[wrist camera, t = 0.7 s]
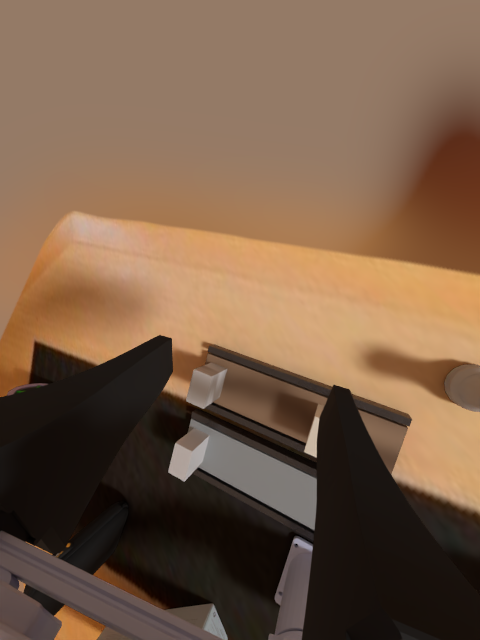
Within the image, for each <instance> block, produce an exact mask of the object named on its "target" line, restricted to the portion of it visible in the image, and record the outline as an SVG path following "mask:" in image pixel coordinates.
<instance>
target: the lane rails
mask: <svg viewBox="0 0 480 640" xmlns="http://www.w3.org/2000/svg"><path fill="white" fill-rule="evenodd" d="M208 352H210V353H213V354H216V355H218V356H221V357H224V358H227V359H229V360H232V361H235V362H237V363H240V364H243V365H245V366H248V367H251V368H253V369H256V370H259V371H262V372H264V373H267V374H270V375H272V376H275V377H278V378H280V379H283V380H286V381H288V382H291V383H294V384H296V385H299V386H302V387H305V388H307V389H310V390H313V391H315V392H318V393H321V394H323V395H326V396H329V394H330V392H331V390H332V387H331V386H328V385H325V384H322V383H320V382H317V381H314V380H311V379H308V378H306V377H303V376H300V375H297V374H295V373H292V372H289V371H286V370H283V369H281V368H278V367H275V366H272V365H269V364H267V363H264V362H261V361H258V360H256V359H253V358H250V357H247V356H244V355H242V354H239V353H236V352H233V351H230V350H228V349H225V348H222V347H219V346H216V345H210V346H209V348H208ZM352 396H353V399H354V401H355V404H356V406H357V407H358V408H361V409H364V410H366V411H369V412H372V413H374V414H377V415H380V416H383V417H385V418H388V419H391V420H393V421H396V422H399V423H401V424H404V425H407V426H410V423H411V421H412V419H411V417H410V416H409V414H406V413H403V412H400V411H398V410H395V409H392V408H389V407H386V406H384V405H381V404H378V403H375V402H373V401H370V400H367V399H364V398H361V397H359V396H356V395H353V394H352ZM205 408H206V409H209V410H211V411H213V412H215V413H217V414H220V415H222V416H224V417H226V418H228V419H231V420H233V421H235V422H237V423H239V424H242V425H244V426H246V427H248V428H250V429H253V430H255V431H257V432H259V433H261V434H264V435H266V436H268V437H270V438H273V439H275V440H277V441H279V442H281V443H284V444H286V445H288V446H290V447H292V448H295V449H297V450H299V451H301V452H303V453H305V452H304V450H305V446H306V443H305V442H302V441H300V440H298V439H296V438H293V437H291V436H289V435H286V434H284V433H282V432H280V431H277V430H275V429H273V428H271V427H268V426H266V425H264V424H261V423H259V422H257V421H255V420H252V419H250V418H248V417H246V416H243V415H241V414H239V413H237V412H234V411H232V410H230V409H227V408H225V407H223V406H221V405H218V404H216V403H214V402H212V403H211V404H209V405H208V406H207V407H205ZM191 418H193V419H196V420H198V421H200V422H202V423H204V424H206V425H208V426H210V427H212V428H214V429H217V430H219V431H221V432H223V433H225V434H227V435H229V436H231V437H233V438H235V439H237V440H240V441H242V442H244V443H246V444H248V445H250V446H252V447H254V448H256V449H258V450H261V451H263V452H265V453H267V454H269V455H271V456H273V457H275V458H277V459H279V460H282V461H284V462H286V463H288V464H290V465H292V466H294V467H296V468H298V469H300V470H302V471H305V472H307V473H309V474H311V475H313V476H315V477H317V463H315V462H313V461H311V460H308V459H306V458H304V457H302V456H300V455H298V454H295V453H293V452H291V451H289V450H287V449H285V448H282V447H280V446H278V445H276V444H274V443H271V442H269V441H267V440H265V439H263V438H261V437H258V436H256V435H254V434H252V433H250V432H248V431H245V430H243V429H241V428H239V427H237V426H234V425H232V424H230V423H228V422H226V421H224V420H221V419H219V418H217V417H215V416H213V415H211V414H208V413H206V412H204V411H202V410H200V409H198V408H197V409H196V410H195V411H193V412H192V415H191ZM306 454H307V453H306ZM308 455H309V454H308ZM310 456H312V455H310ZM312 457H314V456H312ZM314 458H316V457H314ZM193 474H194V475H196V476H198V477H200V478H202V479H203V480H205V481H207V482H209V483H210V484H212V485H214V486H216V487H218V488H219V489H221V490H223V491H225V492H227V493H228V494H230V495H232V496H234V497H236V498H237V499H239V500H241V501H243V502H245V503H246V504H248V505H250V506H252V507H253V508H255V509H257V510H259V511H261V512H262V513H264V514H266V515H268V516H270V517H271V518H273V519H275V520H277V521H279V522H280V523H282V524H284V525H286V526H288V527H289V528H291V529H293V530H295V531H297V532H298V533H300V534H302V535H304V536H305V537H307V538H309V539H311V540H314V530H313V529H311V528H309V527H307V526H305V525H303V524H302V523H300V522H298V521H296V520H294V519H292V518H291V517H289V516H287V515H285V514H283V513H281V512H280V511H278V510H276V509H274V508H272V507H270V506H269V505H267V504H265V503H263V502H261V501H259V500H258V499H256V498H254V497H252V496H250V495H248V494H247V493H245V492H243V491H241V490H239V489H237V488H236V487H234V486H232V485H230V484H228V483H226V482H224V481H223V480H221V479H219V478H217V477H215V476H213V475H212V474H210V473H208V472H206V471H204V470H202V469H201V468H199V467H197V469H196V470H195V471H194V472H193Z"/></svg>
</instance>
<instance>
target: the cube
mask: <svg viewBox="0 0 480 640" xmlns="http://www.w3.org/2000/svg"><path fill="white" fill-rule="evenodd" d="M323 408H324V406H323V405H320V404H318V406H317V409H316V413H315V416H314V419H313V422H312V425H311V428H310V432H309V435H308V438H307V442H306V446H305V450H304V452H305V453H307V454H309V455H312V456H314V457H316V458H317V434H318V426H319V418H320V415H321V413H322V411H323Z"/></svg>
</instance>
